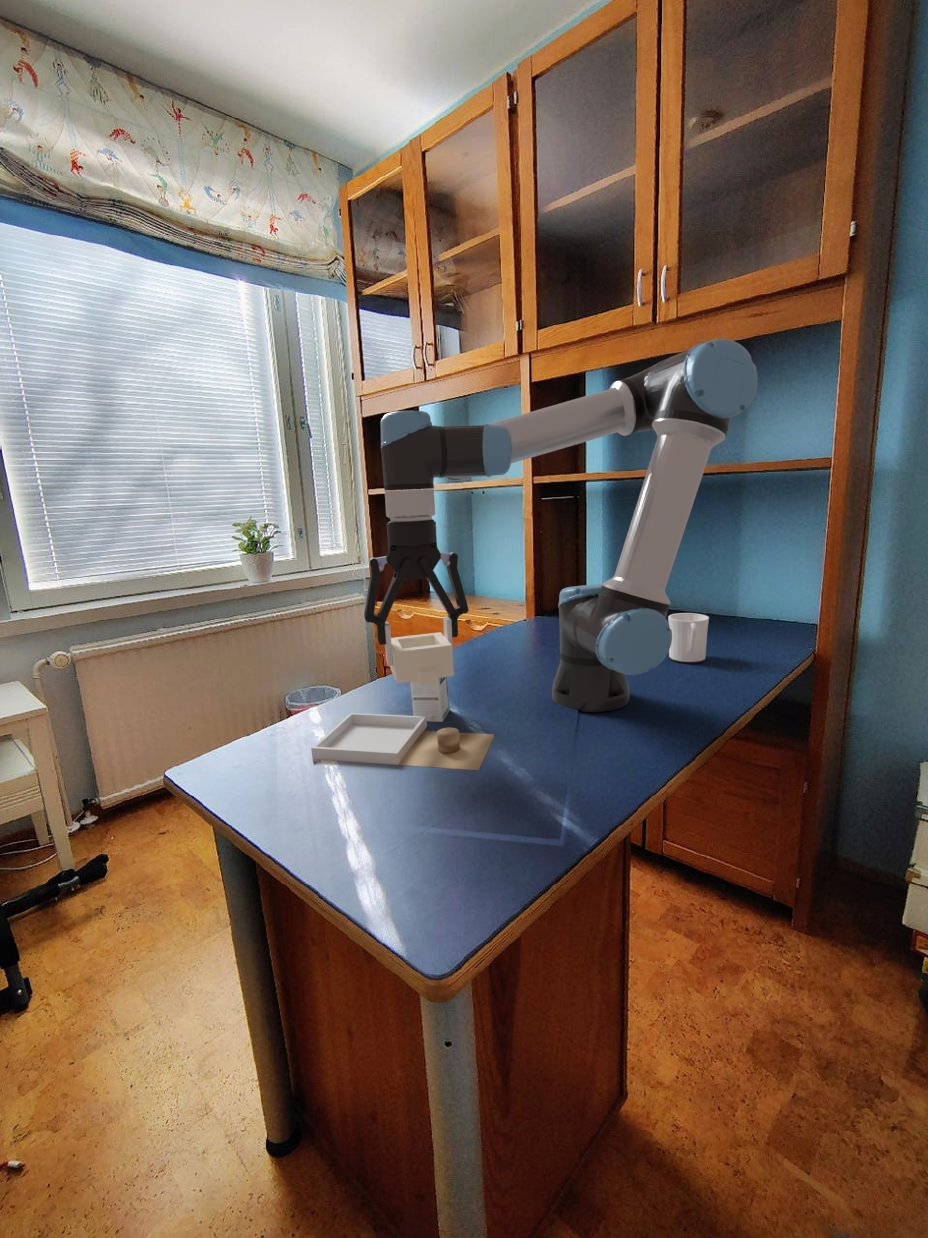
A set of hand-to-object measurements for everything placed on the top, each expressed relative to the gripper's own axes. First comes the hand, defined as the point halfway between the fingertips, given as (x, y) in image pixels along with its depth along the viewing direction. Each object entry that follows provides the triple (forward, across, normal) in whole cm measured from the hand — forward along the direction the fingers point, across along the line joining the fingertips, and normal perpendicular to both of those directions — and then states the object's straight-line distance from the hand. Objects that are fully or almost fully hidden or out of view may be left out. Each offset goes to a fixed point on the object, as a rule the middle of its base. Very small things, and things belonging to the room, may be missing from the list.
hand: (419, 660), depth 92 cm
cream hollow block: (+2, 0, +1) cm, 2 cm away
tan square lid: (+16, -4, +2) cm, 16 cm away
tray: (+16, +8, -6) cm, 19 cm away
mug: (+15, -68, -26) cm, 74 cm away
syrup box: (+16, -4, -14) cm, 21 cm away
